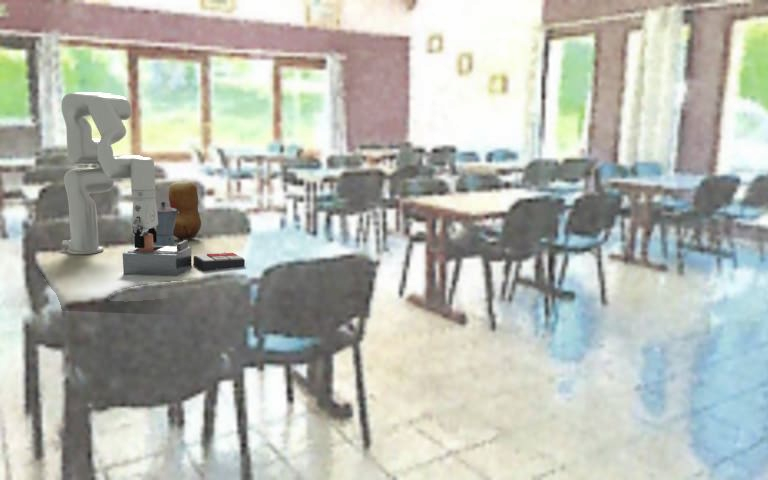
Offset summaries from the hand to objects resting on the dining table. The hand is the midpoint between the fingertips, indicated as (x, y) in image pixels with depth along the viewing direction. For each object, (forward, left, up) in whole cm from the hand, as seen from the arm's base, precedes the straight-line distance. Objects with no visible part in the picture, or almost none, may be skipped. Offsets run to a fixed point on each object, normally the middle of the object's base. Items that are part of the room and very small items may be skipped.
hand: (146, 245), depth 227 cm
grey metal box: (+4, 0, -9) cm, 9 cm away
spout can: (0, 0, -6) cm, 6 cm away
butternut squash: (-7, +55, -9) cm, 56 cm away
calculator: (+22, +10, -9) cm, 26 cm away
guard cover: (+9, 0, -1) cm, 9 cm away
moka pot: (-5, +25, -9) cm, 27 cm away
